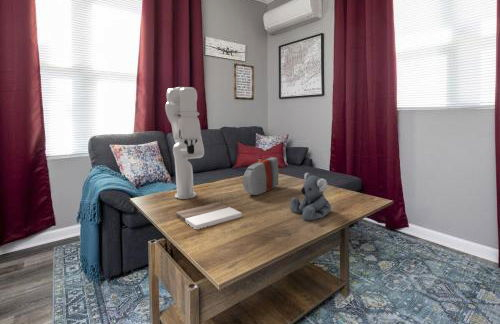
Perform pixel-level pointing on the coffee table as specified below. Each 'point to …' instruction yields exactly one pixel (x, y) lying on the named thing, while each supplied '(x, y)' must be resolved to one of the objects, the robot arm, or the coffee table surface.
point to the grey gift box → (261, 176)
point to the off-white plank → (213, 218)
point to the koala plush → (312, 199)
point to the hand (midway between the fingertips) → (190, 153)
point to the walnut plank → (200, 210)
